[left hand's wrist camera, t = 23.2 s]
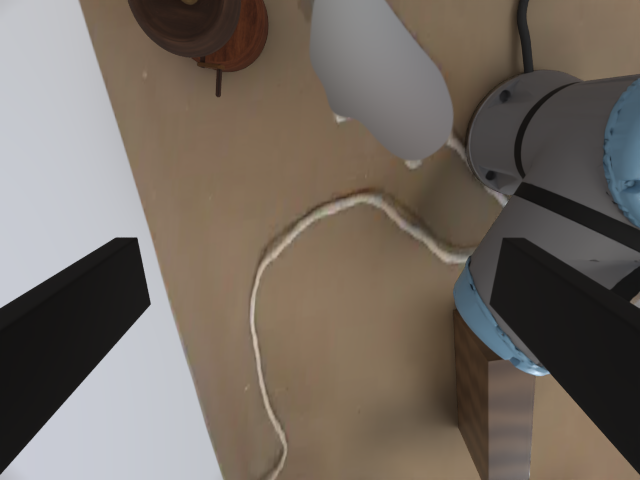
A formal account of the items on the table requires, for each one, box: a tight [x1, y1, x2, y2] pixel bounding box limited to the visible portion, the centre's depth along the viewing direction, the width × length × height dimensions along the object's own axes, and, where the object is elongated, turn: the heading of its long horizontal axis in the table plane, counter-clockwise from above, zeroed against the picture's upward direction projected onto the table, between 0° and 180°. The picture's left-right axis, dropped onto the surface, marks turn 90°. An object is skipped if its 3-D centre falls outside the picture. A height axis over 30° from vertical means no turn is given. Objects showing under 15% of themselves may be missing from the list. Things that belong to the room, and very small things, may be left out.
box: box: [453, 310, 535, 480], centre depth 52 cm, size 26×6×12 cm, turn 10°
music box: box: [128, 0, 268, 97], centre depth 31 cm, size 15×11×20 cm
